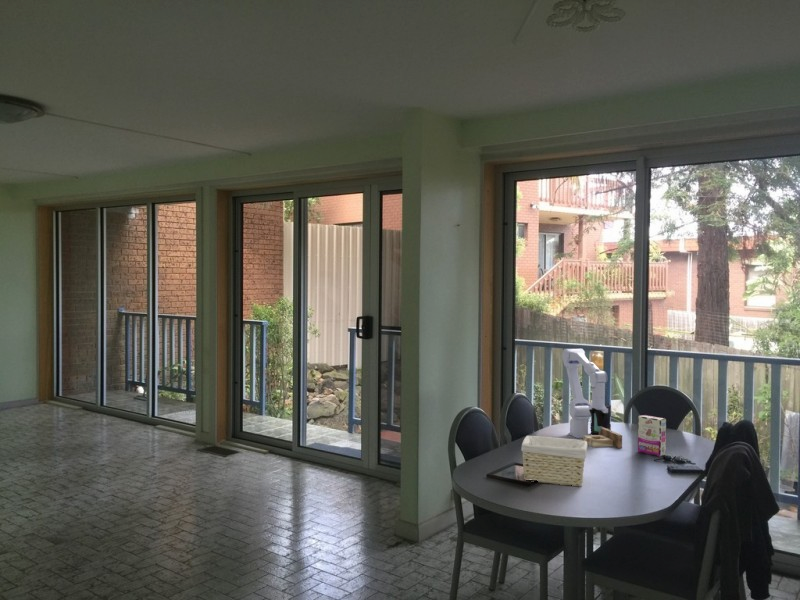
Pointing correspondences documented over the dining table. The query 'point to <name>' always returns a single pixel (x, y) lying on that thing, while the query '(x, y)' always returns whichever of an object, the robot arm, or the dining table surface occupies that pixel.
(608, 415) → the storage jar
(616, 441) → the backstop wall
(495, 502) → the dining table surface
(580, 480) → the storage basket
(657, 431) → the candy bar box
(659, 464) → the dining table surface
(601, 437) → the light wooden square frame
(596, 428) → the dowel
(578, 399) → the robot arm
